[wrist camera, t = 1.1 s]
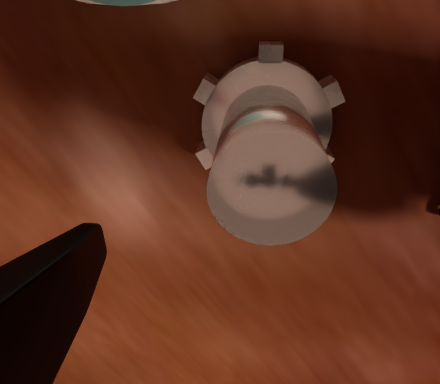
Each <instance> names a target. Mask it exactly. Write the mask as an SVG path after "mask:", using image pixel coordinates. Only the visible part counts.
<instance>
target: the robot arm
mask: <svg viewBox="0 0 440 384" xmlns="http://www.w3.org/2000/svg"><path fill="white" fill-rule="evenodd" d="M439 215H440V210H439ZM106 255H107V249H106V244H105V239H104V235H103V230H102V227H101V225H99V224H97V223H82V224H80V225H78V226H76V227H74V228H73V229H71V230H69V231H67V232H65V233H63V234H61V235H59V236H57V237H56V238H54V239H52V240H50V241H48V242H46V243H44V244H42V245H40V246H38V247H37V248H35V249H33V250H31V251H29V252H27V253H25V254H23V255H21V256H19V257H18V258H16V259H14V260H12V261H10V262H8V263H6V264H4V265H2V266H0V384H53V382H54V380H55V378H56V376H57V373H58V371H59V369H60V367H61V365H62V363H63V361H64V359H65V357H66V355H67V353H68V350H69V348H70V346H71V344H72V342H73V340H74V338H75V336H76V334H77V332H78V330H79V327H80V325H81V323H82V321H83V319H84V317H85V315H86V312H87V310H88V307H89V305H90V302H91V299H92V296H93V294H94V291H95V288H96V285H97V282H98V279H99V276H100V273H101V271H102V268H103V265H104V262H105V259H106Z"/></svg>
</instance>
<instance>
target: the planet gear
mask: <svg viewBox="0 0 440 384" xmlns="http://www.w3.org/2000/svg"><path fill="white" fill-rule="evenodd" d="M283 50H284V45H283V43H282V41H259V52H258V57H253V58H250V59H247V60H244V61H242V62H240V63H238V64H236V65H235V66H233V67H232V68H230V69H229V70H228V71H227V72H225V73H224V74H223V75H222V76H221V78H220V79H218V78H216V77H215V76H213V75H212V74H210V73H208V72H207V73H206V75H205V76H204V78H203V80H202V82H201V84H200V85H199V87H198V89H197V91H196V93H195V95H194V97H193V99H195V100H197V101H199V102H200V103H202V104H204V105H205V108H204V111H203V116H202V136H203V141H201V142H200V143H199V145H198V148H197V150H196V153H195V155H196V156H197V158H198V159H199V161H200V162H201V164H202V165H203V167H204V169H205V170H207V169H209V168H211V169H210V173H209V177H208V182H207V200H208V204H209V207H210V209H211V212H212V214H213V215H214V217H215V219H216V220H217V221H218V222H219V224H220V225H221V226H222V227H223V228H224V229H225V230H227V231H228V232H229V233H231V234H232V235H234V236H236V237H237V238H240V239H242V240H244V241H247V242H250V243H254V244H260V245H282V244H287V243H291V242H294V241H297V240H299V239H302V238H304V237H306V236H308V235H309V234H311V233H312V232H314V231H315V230H316V229H318V228H319V227H320V226H321V225H322V224H323V223H324V221H325V220H326V219H327V218H328V216H329V215H330V213H331V211H332V209H333V207H334V204H335V201H336V197H337V180H336V175H335V172H334V169H333V167H332V165H331V163H332V162H333V161H334V159H335V158H334V156H333V154H332V152H331V150H330V148H329V147H328V146H327V145H328V143H329V140H330V136H331V132H332V124H333V121H332V110H331V108H334V107H336V106H338V105H340V104H342V103H344V102H346V101H345V99H344V96H343V94H342V91H341V89H340V86H339V84H338V81H337V80H336V79H335V78H334V77H333V76H332V75H331V74H330V75H328V76H326V77H324V78H322V79H320V80H318V81H317V80H316V79H315V77H314V76H313V75H312V74H311V73H310V72H309V71H308V70H307V69H306V68H304V67H303V66H302V65H300V64H298V63H297V62H295V61H292V60H290V59H287V58H284V57H283Z"/></svg>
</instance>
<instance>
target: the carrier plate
mask: <svg viewBox="0 0 440 384" xmlns="http://www.w3.org/2000/svg"><path fill="white" fill-rule="evenodd" d="M77 1H81V2H85V3H90V4H103V5H113V6H136V5H149V4H162V3H170V2H174V1H179V0H77Z"/></svg>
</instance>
